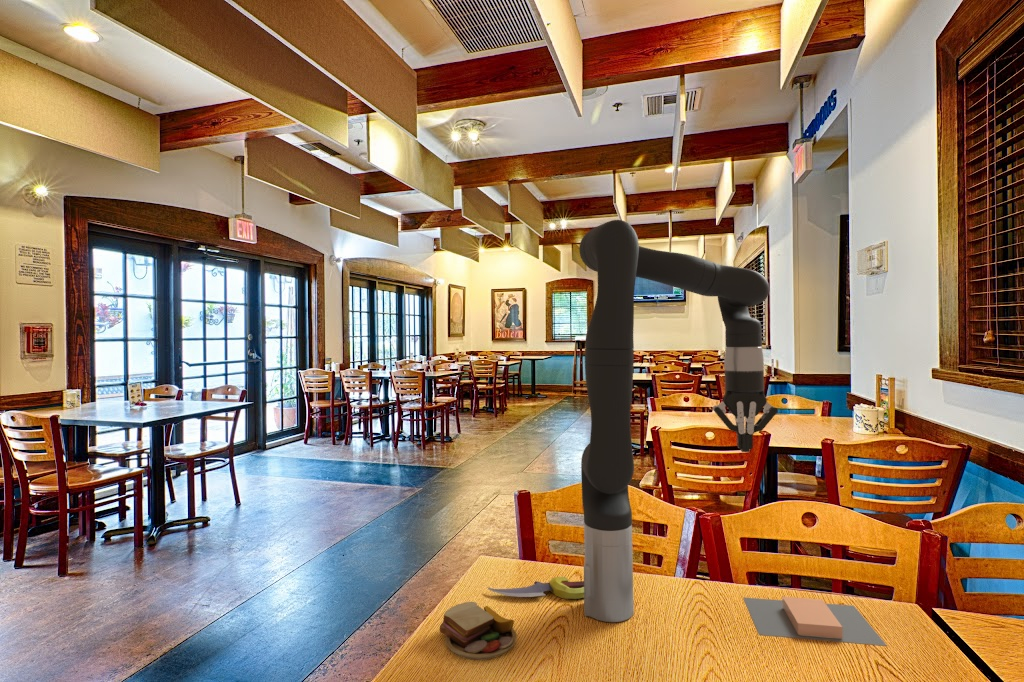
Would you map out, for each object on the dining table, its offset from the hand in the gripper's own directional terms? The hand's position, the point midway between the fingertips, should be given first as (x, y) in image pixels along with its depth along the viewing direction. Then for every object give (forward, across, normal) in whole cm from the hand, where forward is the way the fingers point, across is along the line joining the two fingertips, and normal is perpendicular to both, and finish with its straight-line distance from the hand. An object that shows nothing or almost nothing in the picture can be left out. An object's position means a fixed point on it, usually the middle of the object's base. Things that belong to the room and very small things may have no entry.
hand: (745, 451), depth 115 cm
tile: (+27, +8, -9) cm, 29 cm away
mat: (+29, +8, -13) cm, 33 cm away
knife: (+30, -41, -8) cm, 51 cm away
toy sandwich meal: (+30, -51, -29) cm, 65 cm away
